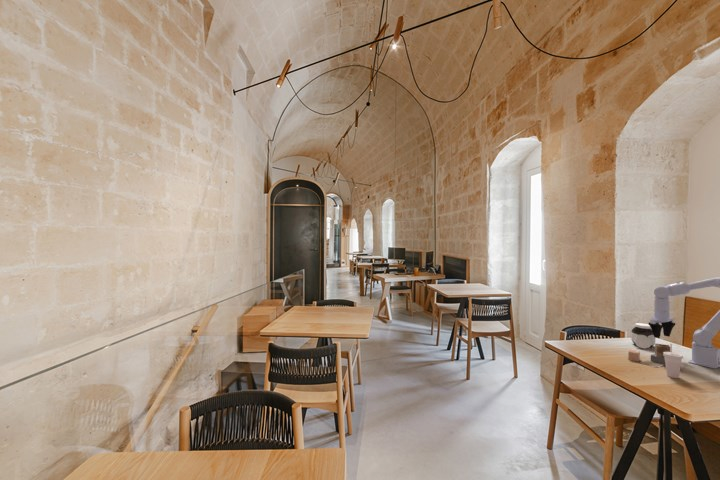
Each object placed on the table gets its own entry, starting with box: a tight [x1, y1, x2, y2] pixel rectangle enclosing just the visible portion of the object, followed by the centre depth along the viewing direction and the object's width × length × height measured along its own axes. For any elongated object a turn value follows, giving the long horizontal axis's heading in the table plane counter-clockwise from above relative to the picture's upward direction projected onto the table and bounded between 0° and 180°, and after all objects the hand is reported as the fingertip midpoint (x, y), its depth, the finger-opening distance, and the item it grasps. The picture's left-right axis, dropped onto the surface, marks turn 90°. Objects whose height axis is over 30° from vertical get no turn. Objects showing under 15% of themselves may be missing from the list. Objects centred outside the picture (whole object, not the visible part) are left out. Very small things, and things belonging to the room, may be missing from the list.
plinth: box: [650, 353, 666, 366], centre depth 164 cm, size 7×7×4 cm
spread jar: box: [630, 322, 656, 349], centre depth 189 cm, size 12×11×12 cm
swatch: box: [639, 359, 665, 368], centre depth 162 cm, size 7×7×1 cm
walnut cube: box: [654, 342, 670, 358], centre depth 164 cm, size 5×5×5 cm
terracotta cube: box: [627, 349, 641, 363], centre depth 168 cm, size 4×4×4 cm
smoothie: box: [663, 343, 684, 379], centre depth 148 cm, size 6×6×14 cm
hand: (661, 336), depth 172 cm, fingers open, 7 cm apart
